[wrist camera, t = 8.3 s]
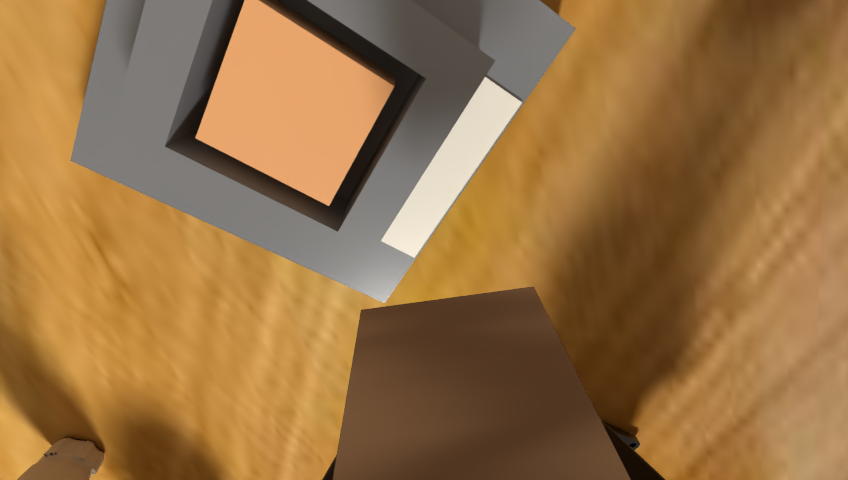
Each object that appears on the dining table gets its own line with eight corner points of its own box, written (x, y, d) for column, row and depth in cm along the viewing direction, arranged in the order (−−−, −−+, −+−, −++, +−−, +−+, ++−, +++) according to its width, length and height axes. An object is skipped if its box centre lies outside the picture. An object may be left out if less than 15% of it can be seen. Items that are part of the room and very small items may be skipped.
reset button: (395, 76, 15) (394, 86, 12) (339, 179, 16) (328, 206, 14) (275, -2, 13) (247, -8, 11) (228, 119, 15) (195, 138, 13)
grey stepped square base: (556, 28, 16) (614, 29, 12) (386, 280, 21) (381, 346, 17) (206, -248, 12) (93, -404, 8) (104, 146, 17) (3, 188, 13)
